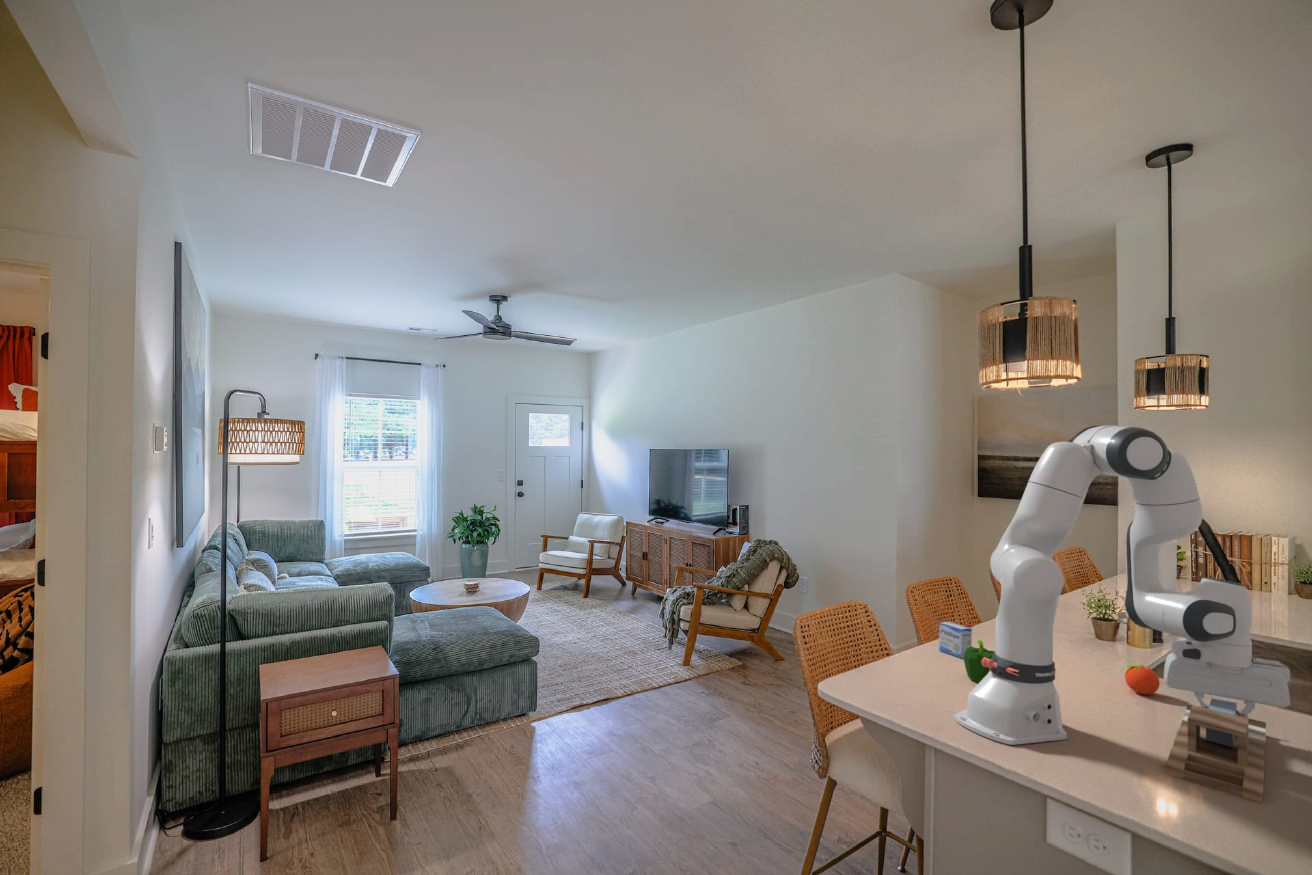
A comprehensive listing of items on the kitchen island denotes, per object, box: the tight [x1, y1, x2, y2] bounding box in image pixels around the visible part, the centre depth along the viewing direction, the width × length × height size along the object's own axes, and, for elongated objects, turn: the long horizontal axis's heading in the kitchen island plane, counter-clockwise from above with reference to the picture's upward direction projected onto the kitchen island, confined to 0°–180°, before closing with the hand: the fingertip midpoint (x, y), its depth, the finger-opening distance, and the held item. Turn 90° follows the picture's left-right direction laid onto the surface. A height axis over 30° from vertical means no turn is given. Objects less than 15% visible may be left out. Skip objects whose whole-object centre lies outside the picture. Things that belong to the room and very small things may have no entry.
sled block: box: [1206, 697, 1238, 747], centre depth 129 cm, size 16×4×4 cm, turn 134°
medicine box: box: [938, 621, 973, 660], centre depth 183 cm, size 8×4×9 cm, turn 25°
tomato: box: [1119, 664, 1161, 696], centre depth 155 cm, size 8×7×7 cm
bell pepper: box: [963, 639, 995, 683], centre depth 161 cm, size 8×8×10 cm
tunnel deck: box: [1165, 703, 1267, 804], centre depth 124 cm, size 38×13×8 cm, turn 134°
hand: (1223, 716), depth 134 cm, fingers closed on sled block, 4 cm apart
